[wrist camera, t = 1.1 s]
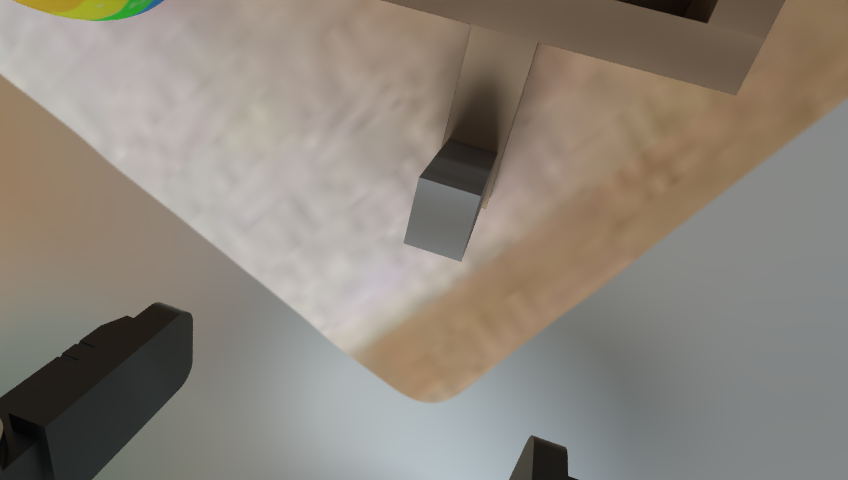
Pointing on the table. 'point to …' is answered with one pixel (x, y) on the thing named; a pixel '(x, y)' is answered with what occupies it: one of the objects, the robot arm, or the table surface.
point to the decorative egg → (92, 8)
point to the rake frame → (575, 31)
